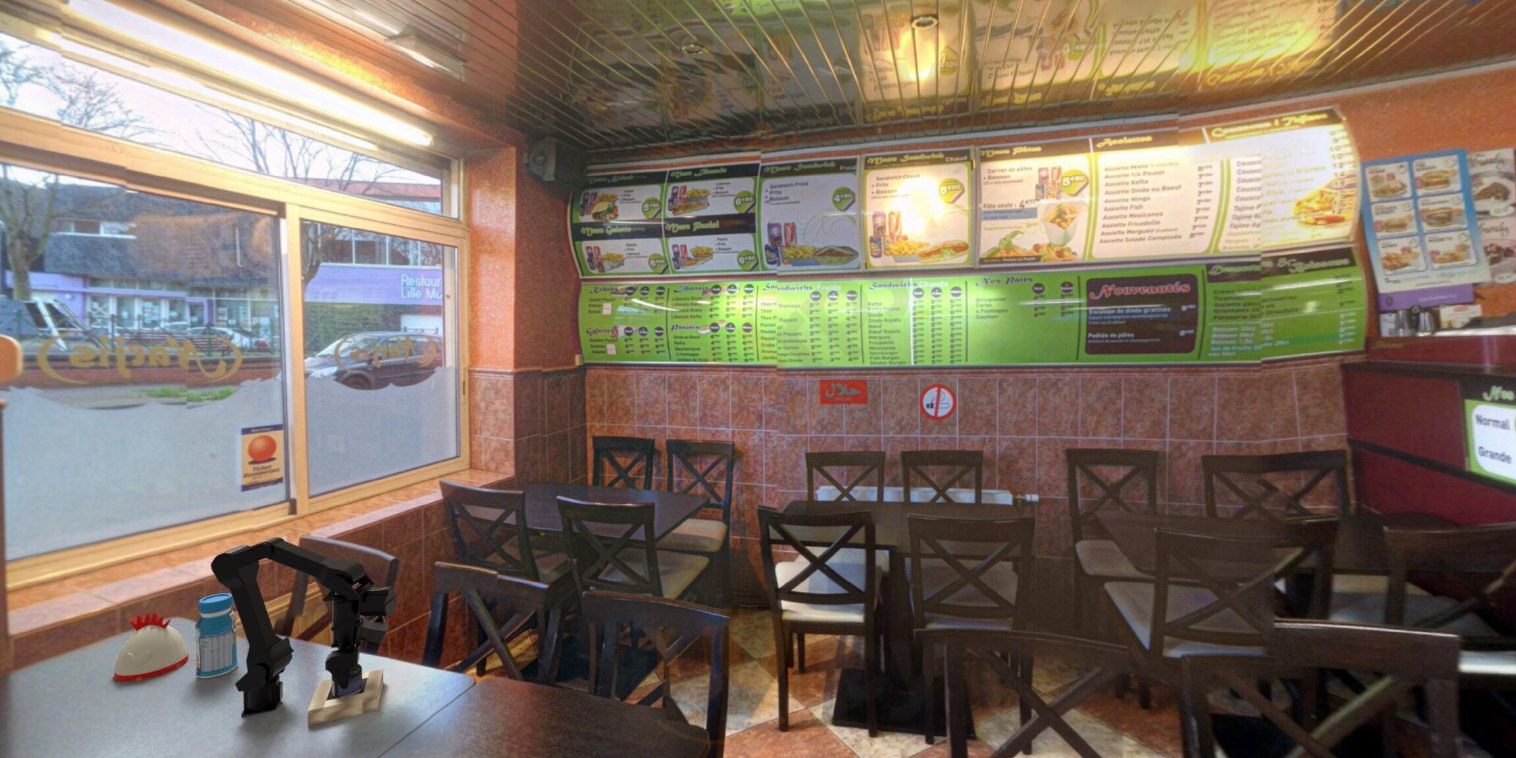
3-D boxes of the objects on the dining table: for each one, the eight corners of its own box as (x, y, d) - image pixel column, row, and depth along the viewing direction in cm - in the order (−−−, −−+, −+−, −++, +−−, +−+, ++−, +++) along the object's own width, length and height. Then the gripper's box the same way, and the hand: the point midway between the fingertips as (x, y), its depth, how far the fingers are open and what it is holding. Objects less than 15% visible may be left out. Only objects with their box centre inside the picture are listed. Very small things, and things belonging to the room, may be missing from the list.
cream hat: (138, 658, 163) (136, 605, 162) (199, 651, 167) (198, 599, 166) (99, 685, 150) (98, 627, 149) (167, 677, 154) (166, 621, 153)
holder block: (307, 725, 135) (307, 710, 135) (319, 695, 147) (319, 681, 147) (377, 710, 141) (377, 696, 141) (383, 682, 153) (383, 669, 153)
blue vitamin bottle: (212, 681, 152) (210, 605, 151) (186, 677, 154) (184, 602, 153) (246, 665, 160) (245, 592, 159) (221, 661, 162) (220, 589, 161)
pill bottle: (368, 696, 147) (368, 653, 146) (349, 711, 140) (348, 666, 140) (345, 694, 147) (345, 651, 147) (325, 709, 141) (324, 664, 141)
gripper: (382, 625, 138) (382, 690, 139) (389, 596, 155) (390, 654, 156) (324, 635, 133) (325, 702, 134) (338, 604, 150) (339, 663, 150)
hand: (347, 679), depth 144 cm, fingers open, 9 cm apart
